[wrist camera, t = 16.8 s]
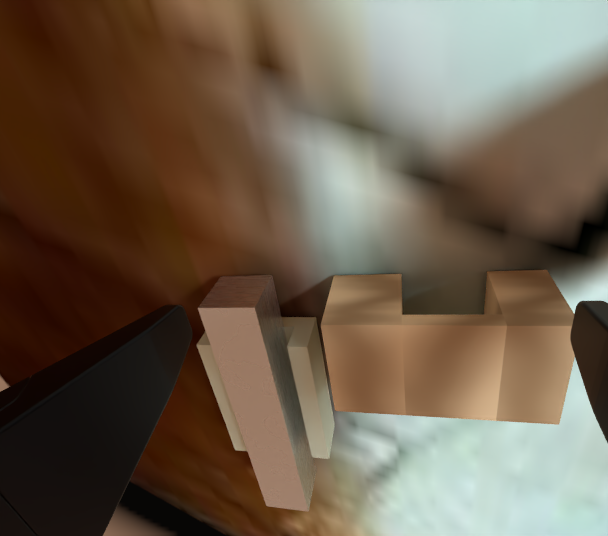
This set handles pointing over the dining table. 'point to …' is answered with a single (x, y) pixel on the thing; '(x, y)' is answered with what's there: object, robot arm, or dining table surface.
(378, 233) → the dining table surface
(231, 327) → the pinkish brown square bar
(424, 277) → the dining table surface
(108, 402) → the robot arm
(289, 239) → the dining table surface
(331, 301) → the tan u-shaped block
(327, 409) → the cradle
